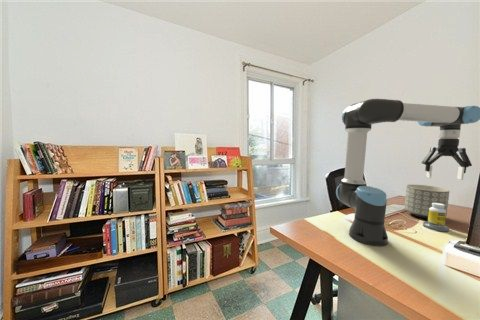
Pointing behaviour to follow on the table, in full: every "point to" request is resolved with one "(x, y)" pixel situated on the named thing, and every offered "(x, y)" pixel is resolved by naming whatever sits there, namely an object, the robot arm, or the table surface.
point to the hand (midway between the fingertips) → (444, 178)
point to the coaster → (440, 229)
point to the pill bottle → (437, 215)
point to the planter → (424, 199)
